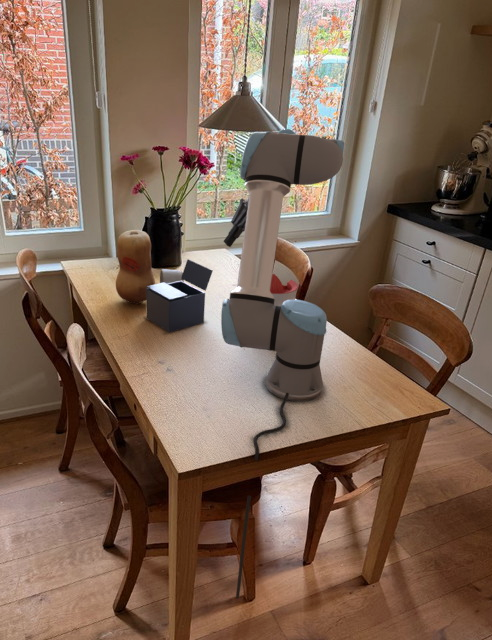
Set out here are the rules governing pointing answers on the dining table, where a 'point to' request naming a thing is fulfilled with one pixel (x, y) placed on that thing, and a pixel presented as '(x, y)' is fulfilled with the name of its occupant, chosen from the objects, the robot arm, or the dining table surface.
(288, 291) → the citrus juicer
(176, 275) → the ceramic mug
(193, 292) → the carton
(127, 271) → the butternut squash
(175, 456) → the dining table surface
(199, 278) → the flap
